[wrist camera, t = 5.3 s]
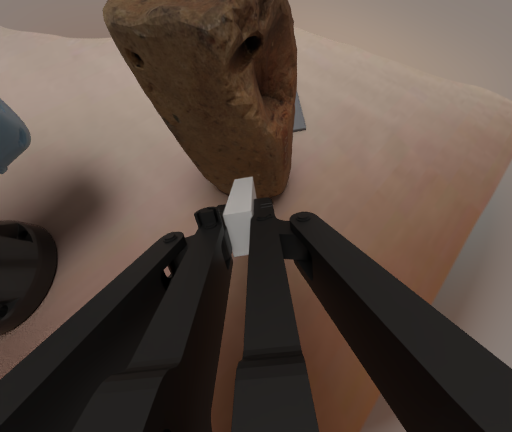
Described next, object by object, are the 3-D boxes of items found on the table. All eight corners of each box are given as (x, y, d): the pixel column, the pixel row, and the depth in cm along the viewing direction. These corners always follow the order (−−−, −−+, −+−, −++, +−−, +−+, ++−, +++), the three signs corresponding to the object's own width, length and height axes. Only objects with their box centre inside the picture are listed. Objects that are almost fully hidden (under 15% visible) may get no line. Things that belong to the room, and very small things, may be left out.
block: (207, 189, 29) (65, 13, 10) (228, 147, 30) (142, -71, 12) (279, 212, 26) (277, 38, 7) (296, 165, 28) (330, -72, 9)
